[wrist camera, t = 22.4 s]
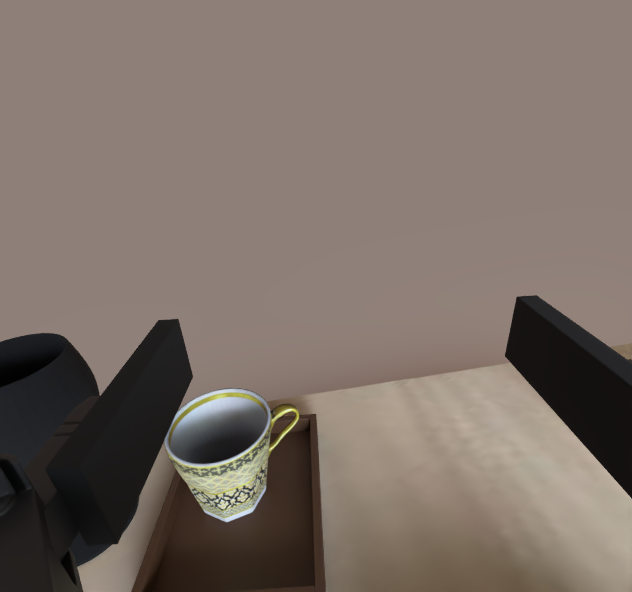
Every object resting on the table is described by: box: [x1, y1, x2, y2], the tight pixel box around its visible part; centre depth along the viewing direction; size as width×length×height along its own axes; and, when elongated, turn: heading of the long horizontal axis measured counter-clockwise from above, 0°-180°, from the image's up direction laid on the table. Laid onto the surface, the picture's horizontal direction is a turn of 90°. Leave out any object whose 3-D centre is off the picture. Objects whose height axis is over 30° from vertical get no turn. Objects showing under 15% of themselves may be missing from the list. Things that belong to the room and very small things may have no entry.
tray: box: [132, 414, 326, 592], centre depth 37 cm, size 16×20×3 cm
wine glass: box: [0, 333, 139, 566], centre depth 33 cm, size 10×10×20 cm
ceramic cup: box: [164, 388, 299, 522], centre depth 37 cm, size 13×10×10 cm
